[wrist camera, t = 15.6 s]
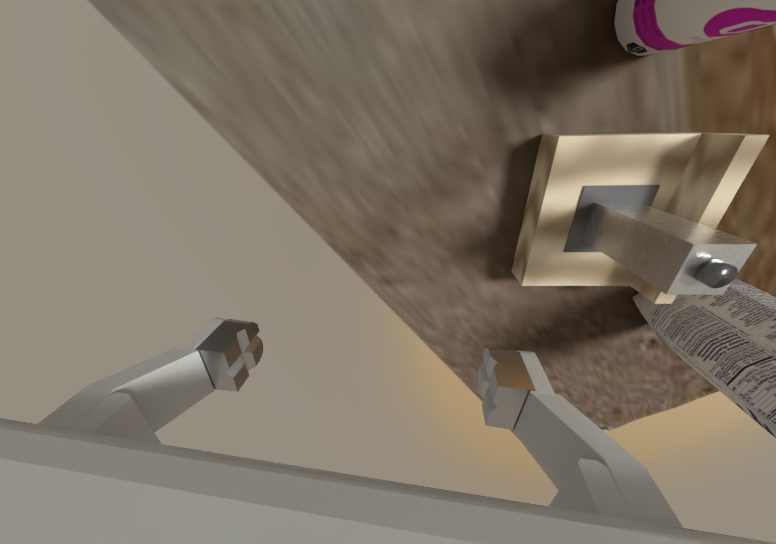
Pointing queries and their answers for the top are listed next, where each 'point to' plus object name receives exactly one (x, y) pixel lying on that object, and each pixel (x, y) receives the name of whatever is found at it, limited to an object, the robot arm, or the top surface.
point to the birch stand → (622, 196)
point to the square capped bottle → (667, 248)
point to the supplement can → (686, 22)
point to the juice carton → (725, 343)
